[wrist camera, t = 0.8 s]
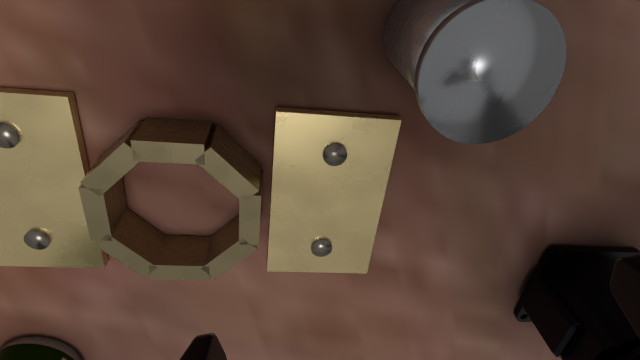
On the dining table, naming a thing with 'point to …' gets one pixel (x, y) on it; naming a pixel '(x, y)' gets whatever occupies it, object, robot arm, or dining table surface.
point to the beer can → (37, 350)
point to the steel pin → (477, 63)
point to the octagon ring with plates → (213, 156)
